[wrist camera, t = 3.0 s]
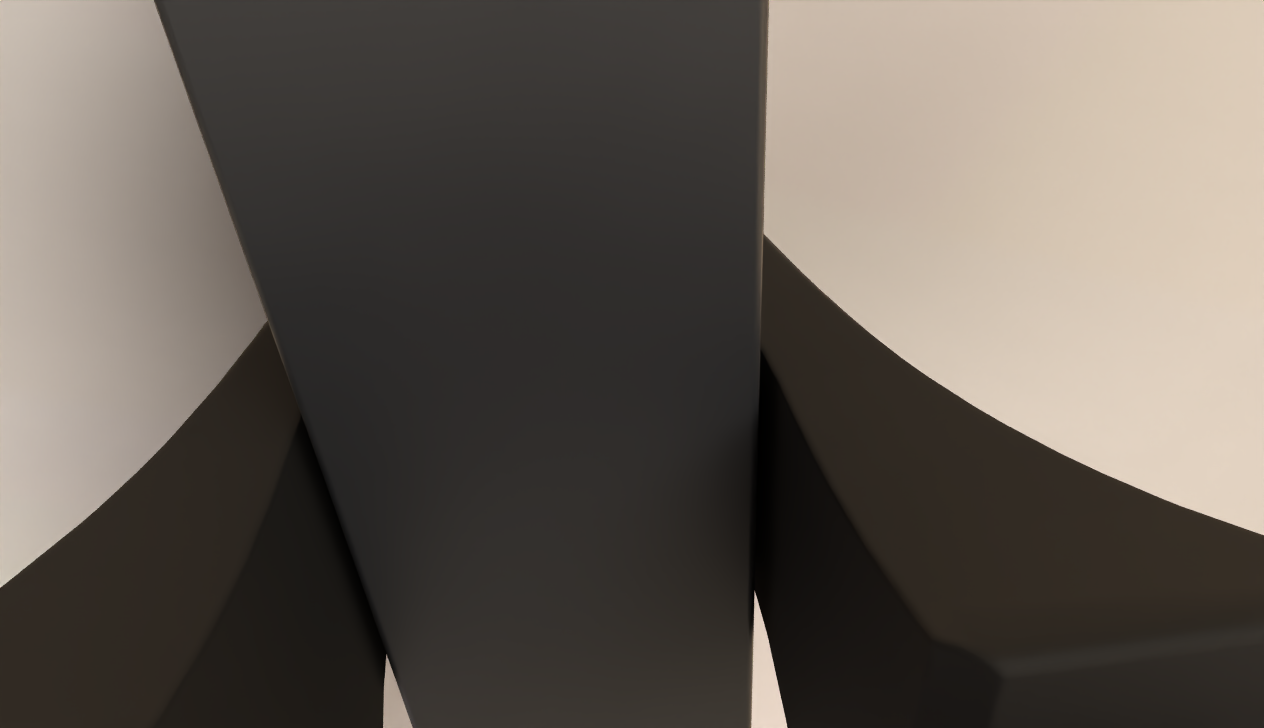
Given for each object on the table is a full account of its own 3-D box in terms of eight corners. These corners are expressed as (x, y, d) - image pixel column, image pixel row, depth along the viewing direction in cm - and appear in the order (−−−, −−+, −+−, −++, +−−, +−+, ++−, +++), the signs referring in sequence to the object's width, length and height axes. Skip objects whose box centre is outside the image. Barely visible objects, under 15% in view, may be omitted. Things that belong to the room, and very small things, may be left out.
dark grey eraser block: (698, 544, 17) (765, 857, 13) (459, 575, 17) (455, 901, 13) (671, -372, 9) (818, -263, 5) (221, -333, 9) (34, -190, 5)
